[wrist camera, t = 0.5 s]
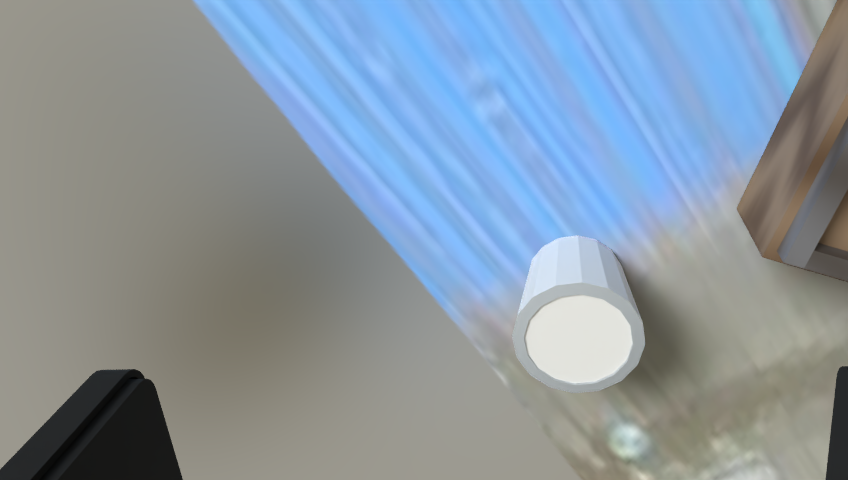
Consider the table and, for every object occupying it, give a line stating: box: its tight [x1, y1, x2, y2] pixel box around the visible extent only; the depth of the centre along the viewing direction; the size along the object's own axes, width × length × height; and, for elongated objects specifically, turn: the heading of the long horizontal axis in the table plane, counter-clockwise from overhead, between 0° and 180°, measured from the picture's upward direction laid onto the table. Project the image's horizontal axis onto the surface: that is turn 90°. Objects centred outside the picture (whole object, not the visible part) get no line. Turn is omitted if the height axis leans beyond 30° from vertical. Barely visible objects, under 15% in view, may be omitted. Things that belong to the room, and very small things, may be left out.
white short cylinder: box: [512, 235, 645, 393], centre depth 43 cm, size 7×7×7 cm
